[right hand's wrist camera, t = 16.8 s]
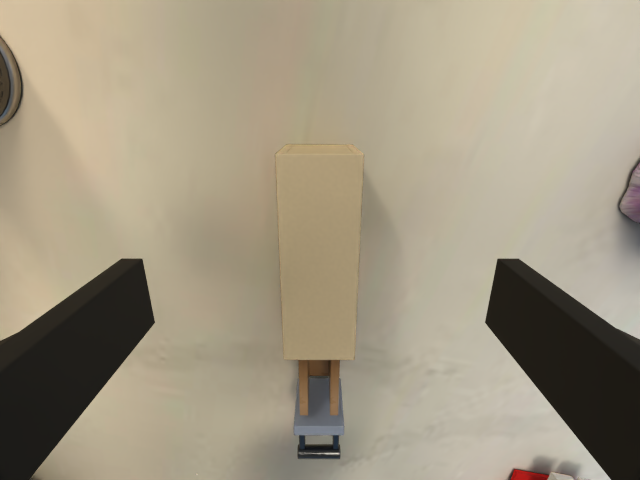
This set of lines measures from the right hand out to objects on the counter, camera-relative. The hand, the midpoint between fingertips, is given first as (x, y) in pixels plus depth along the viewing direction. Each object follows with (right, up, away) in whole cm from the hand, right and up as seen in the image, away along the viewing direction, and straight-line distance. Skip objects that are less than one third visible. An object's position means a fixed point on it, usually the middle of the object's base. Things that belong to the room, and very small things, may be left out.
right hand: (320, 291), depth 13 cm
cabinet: (0, +3, +21) cm, 21 cm away
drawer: (0, -10, +25) cm, 27 cm away
